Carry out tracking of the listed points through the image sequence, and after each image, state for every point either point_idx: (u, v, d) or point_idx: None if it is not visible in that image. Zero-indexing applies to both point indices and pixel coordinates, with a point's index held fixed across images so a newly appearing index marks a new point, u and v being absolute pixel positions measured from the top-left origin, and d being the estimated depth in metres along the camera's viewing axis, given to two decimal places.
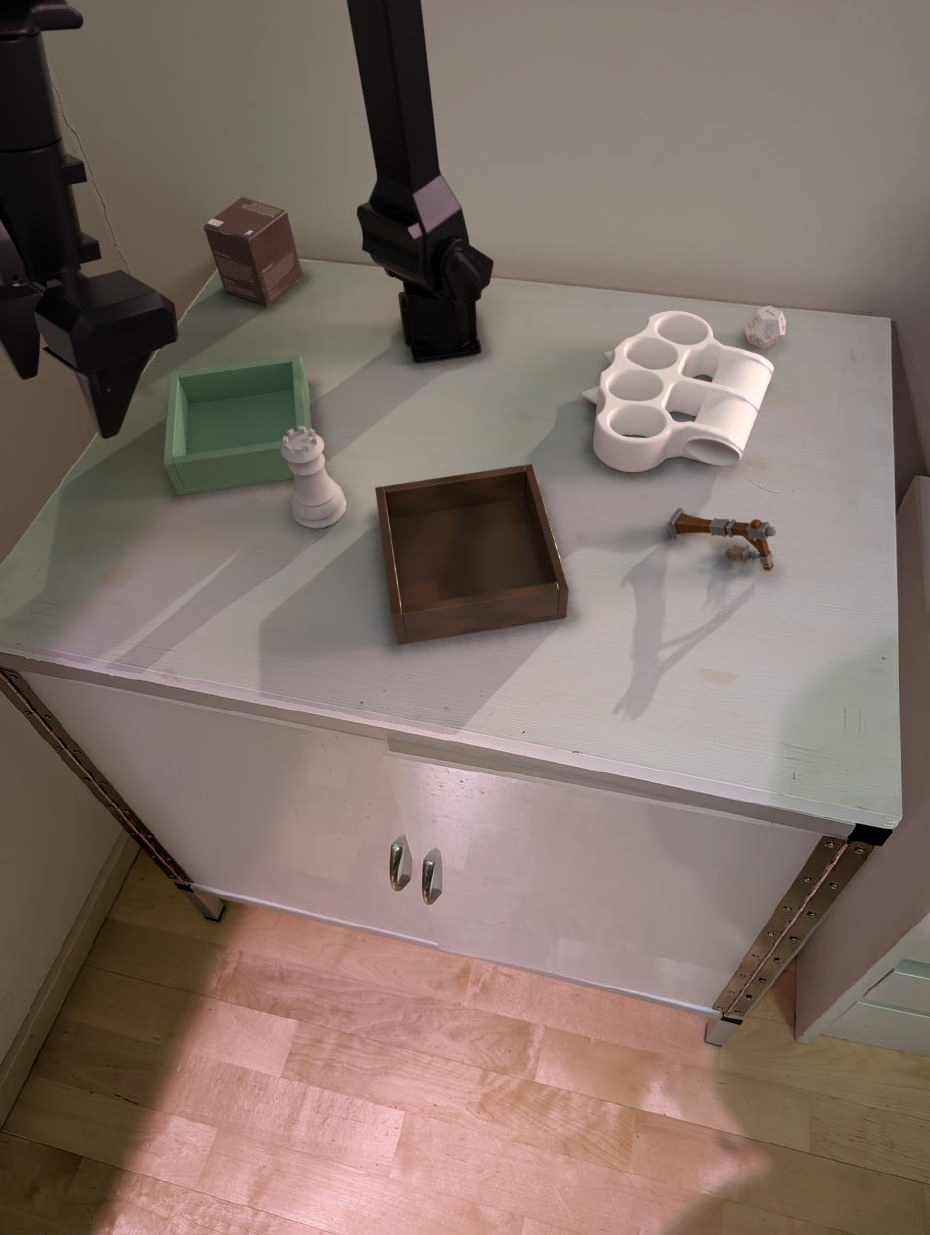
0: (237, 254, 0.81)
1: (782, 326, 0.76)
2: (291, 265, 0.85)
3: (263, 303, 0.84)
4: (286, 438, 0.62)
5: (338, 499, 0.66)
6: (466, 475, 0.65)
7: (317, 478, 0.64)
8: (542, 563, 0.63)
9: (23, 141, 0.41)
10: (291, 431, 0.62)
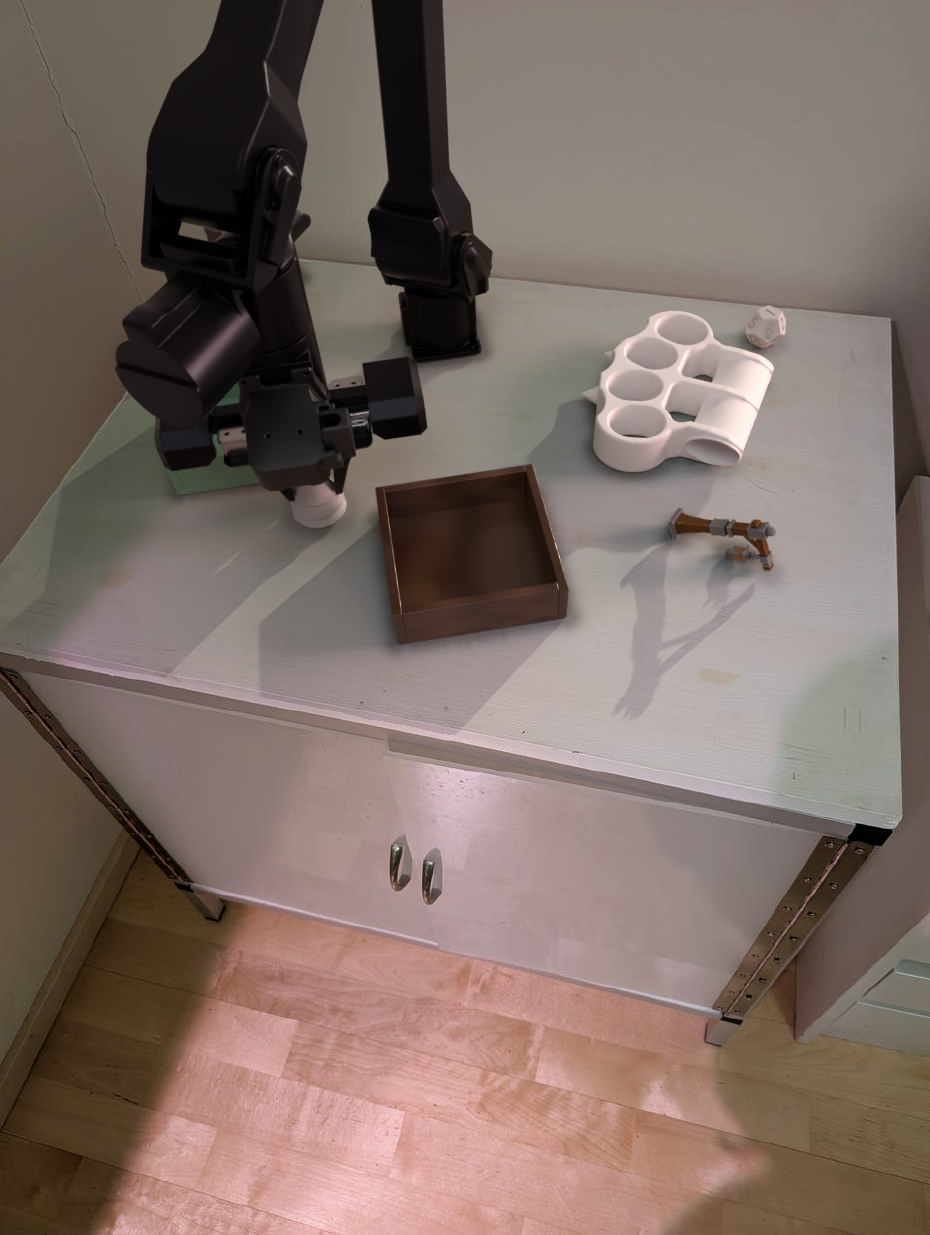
0: None
1: (782, 326, 0.76)
2: None
3: None
4: None
5: (338, 499, 0.66)
6: (466, 475, 0.65)
7: None
8: (542, 563, 0.63)
9: (301, 332, 0.52)
10: None
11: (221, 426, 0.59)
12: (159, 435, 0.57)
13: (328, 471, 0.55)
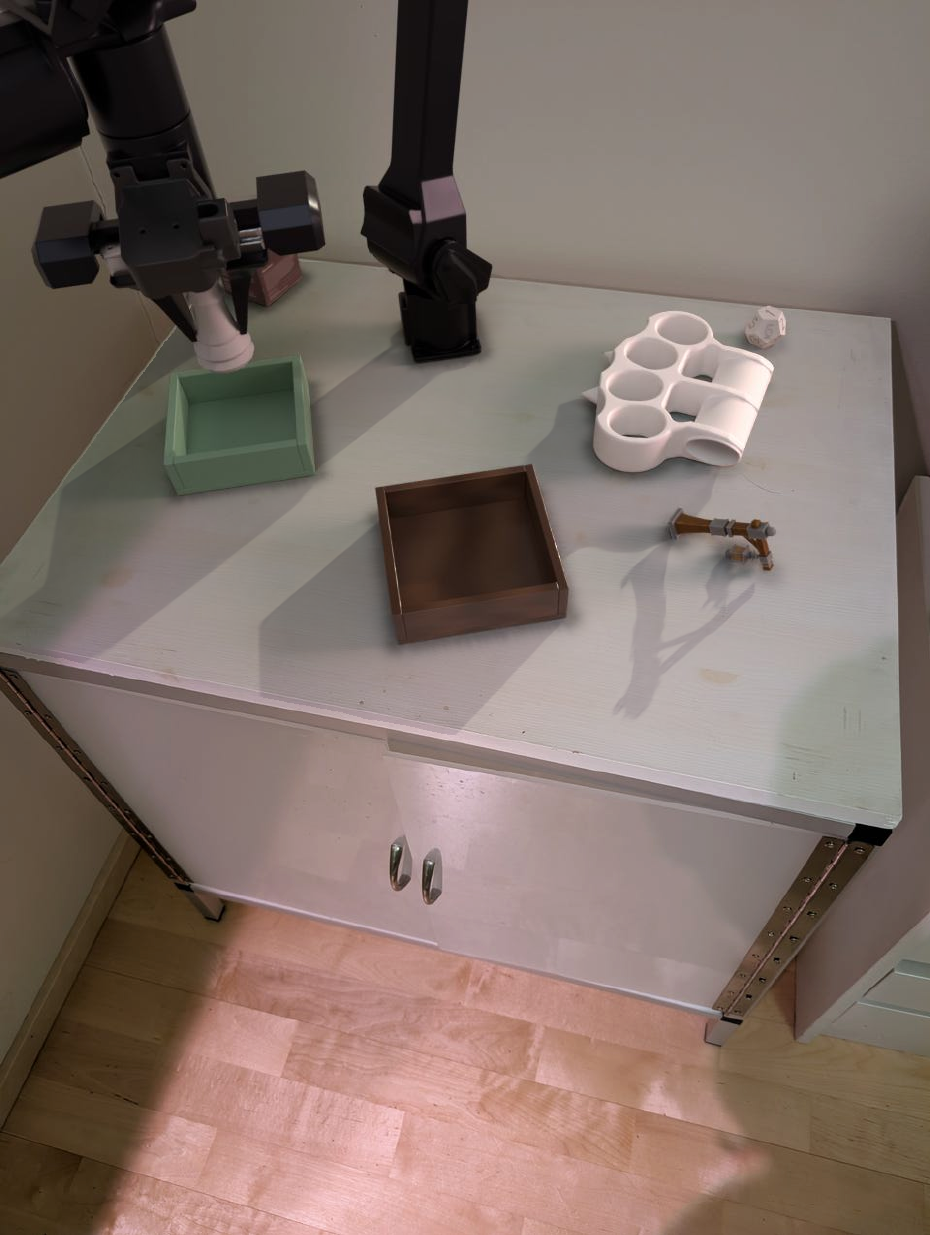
0: None
1: (782, 326, 0.76)
2: (291, 265, 0.85)
3: (263, 303, 0.84)
4: None
5: (243, 340, 0.63)
6: (466, 475, 0.65)
7: (216, 312, 0.60)
8: (542, 563, 0.63)
9: (159, 125, 0.49)
10: None
11: None
12: (35, 245, 0.53)
13: (212, 276, 0.52)
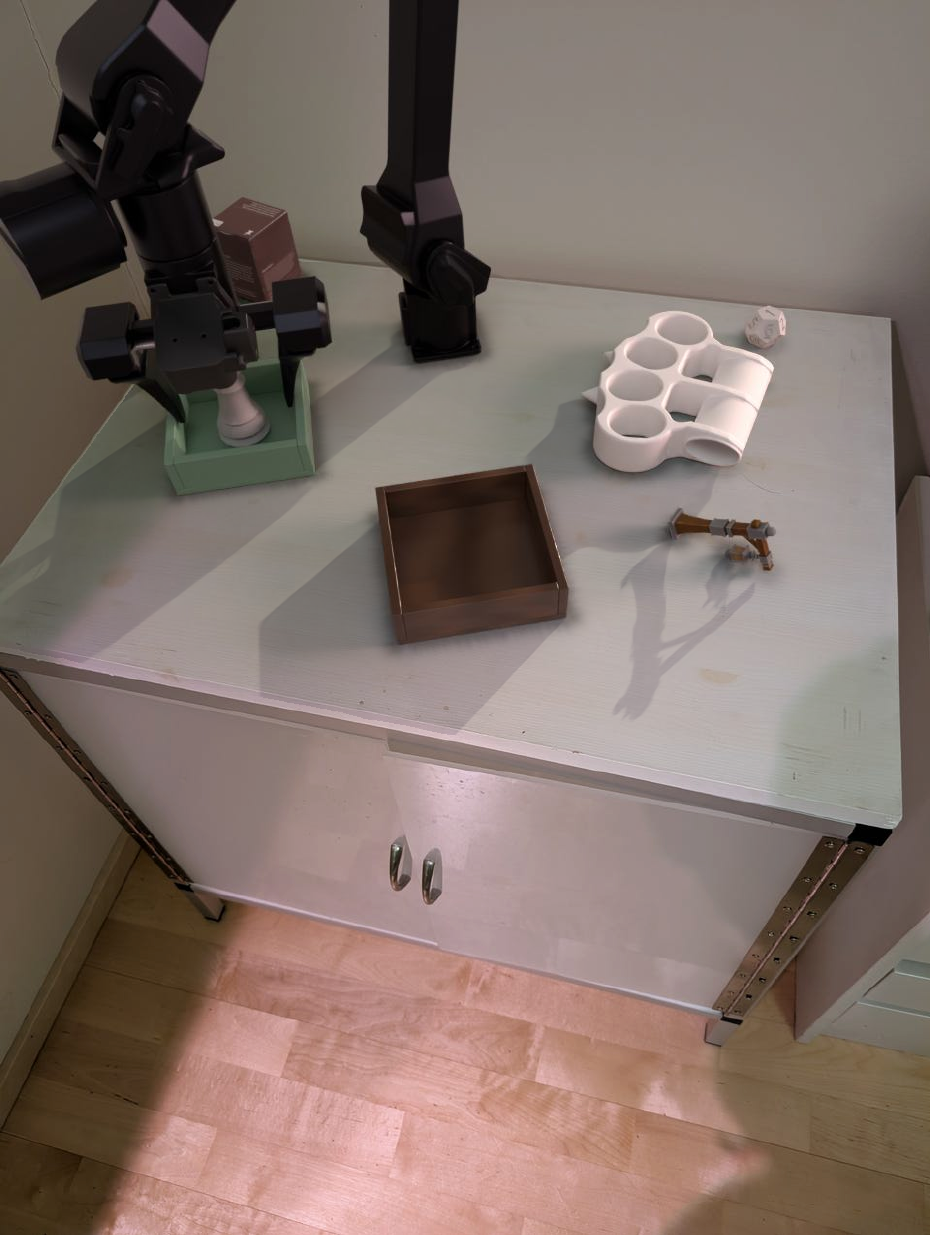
0: (237, 254, 0.81)
1: (782, 326, 0.76)
2: (291, 265, 0.85)
3: None
4: None
5: (260, 420, 0.71)
6: (466, 475, 0.65)
7: (237, 398, 0.69)
8: (542, 563, 0.63)
9: (187, 252, 0.57)
10: None
11: None
12: (79, 345, 0.61)
13: (233, 375, 0.60)
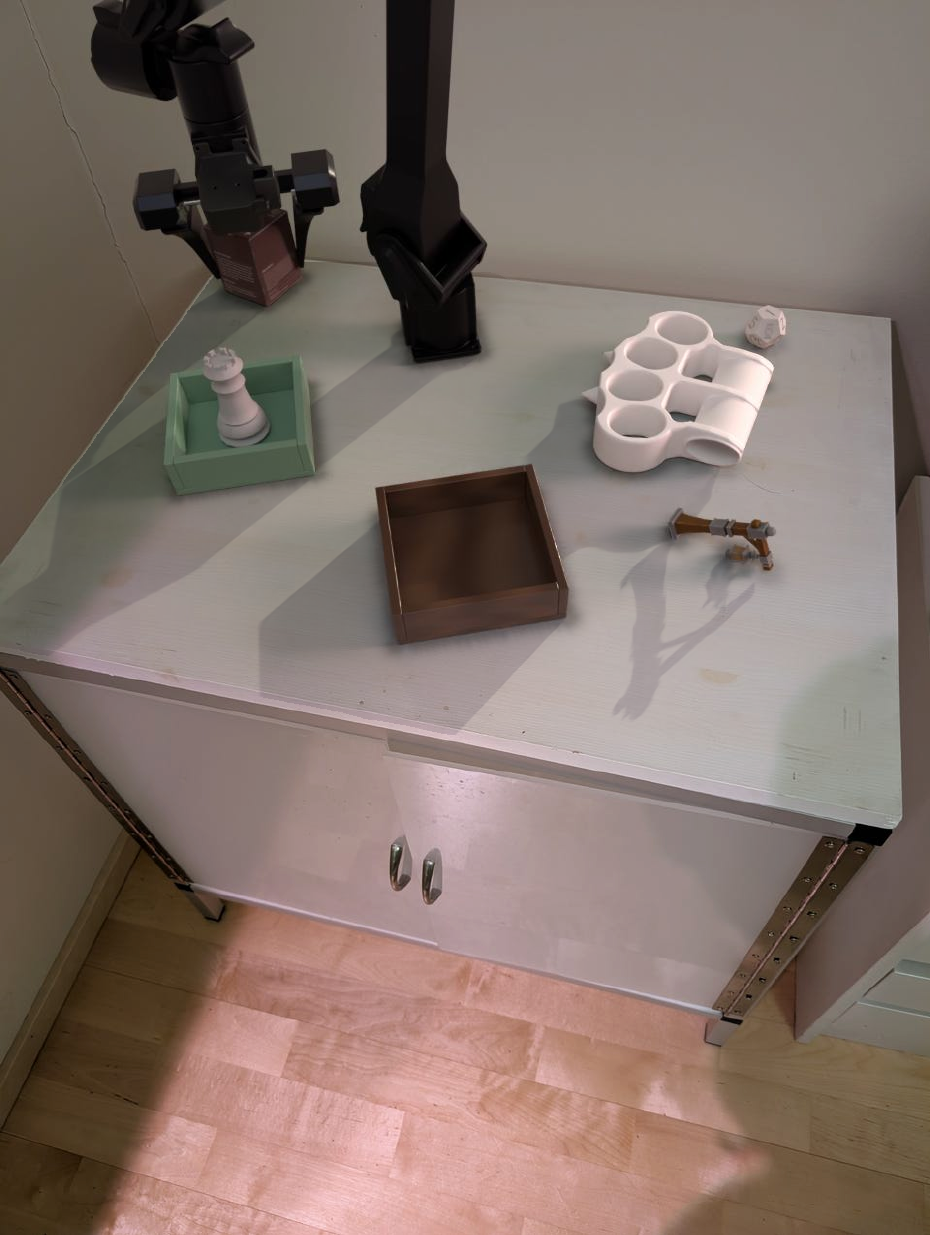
0: (238, 254, 0.81)
1: (782, 326, 0.76)
2: (291, 265, 0.85)
3: (263, 303, 0.84)
4: (207, 358, 0.67)
5: (260, 420, 0.71)
6: (466, 475, 0.65)
7: (238, 398, 0.69)
8: (542, 563, 0.63)
9: (190, 116, 0.71)
10: (212, 352, 0.67)
11: None
12: (136, 198, 0.76)
13: (261, 220, 0.74)
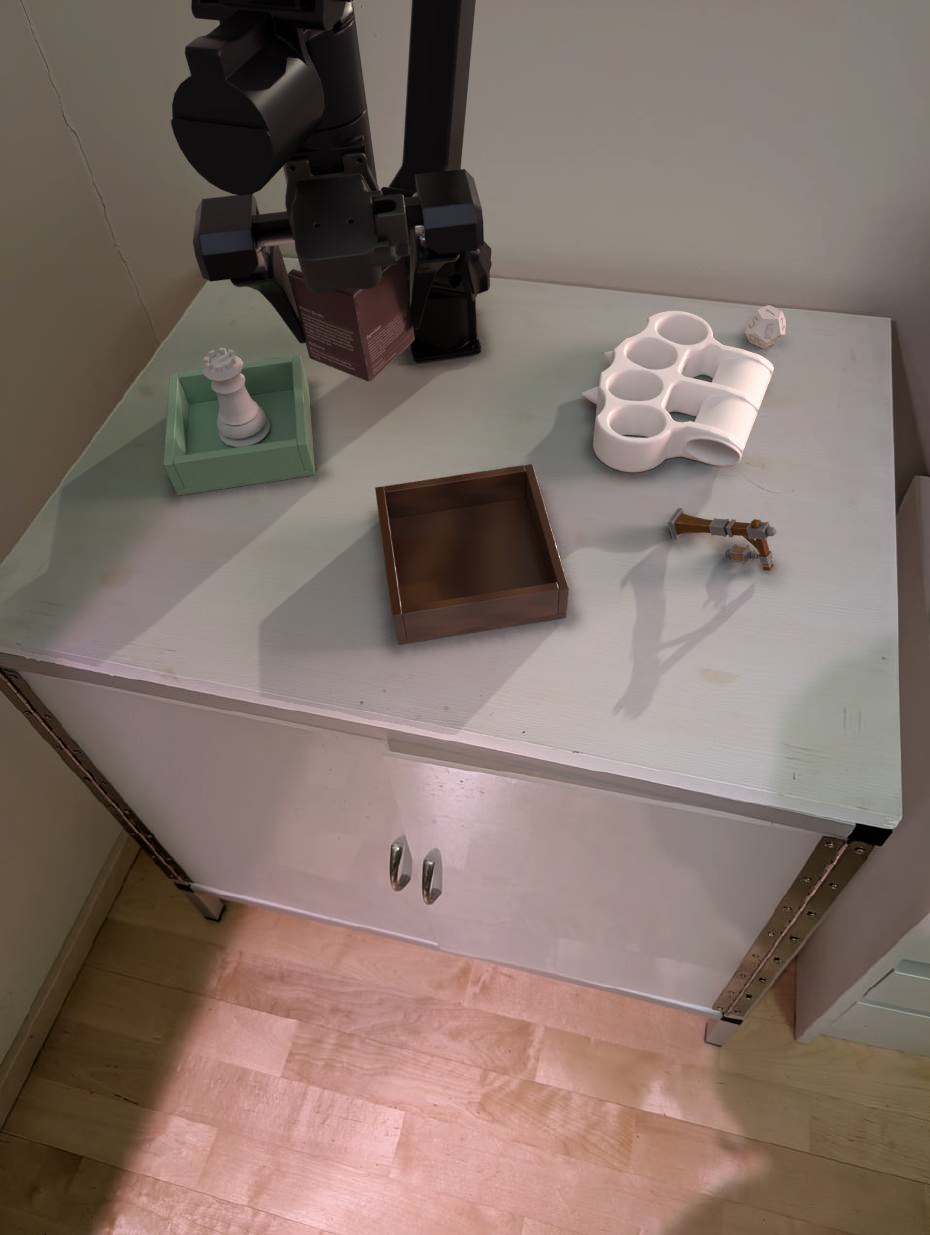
0: (334, 313, 0.58)
1: (782, 326, 0.76)
2: (403, 326, 0.62)
3: (363, 378, 0.61)
4: (207, 358, 0.67)
5: (260, 420, 0.71)
6: (466, 475, 0.65)
7: (238, 398, 0.69)
8: (542, 563, 0.63)
9: (359, 108, 0.49)
10: (212, 352, 0.67)
11: None
12: (198, 237, 0.53)
13: (379, 272, 0.51)
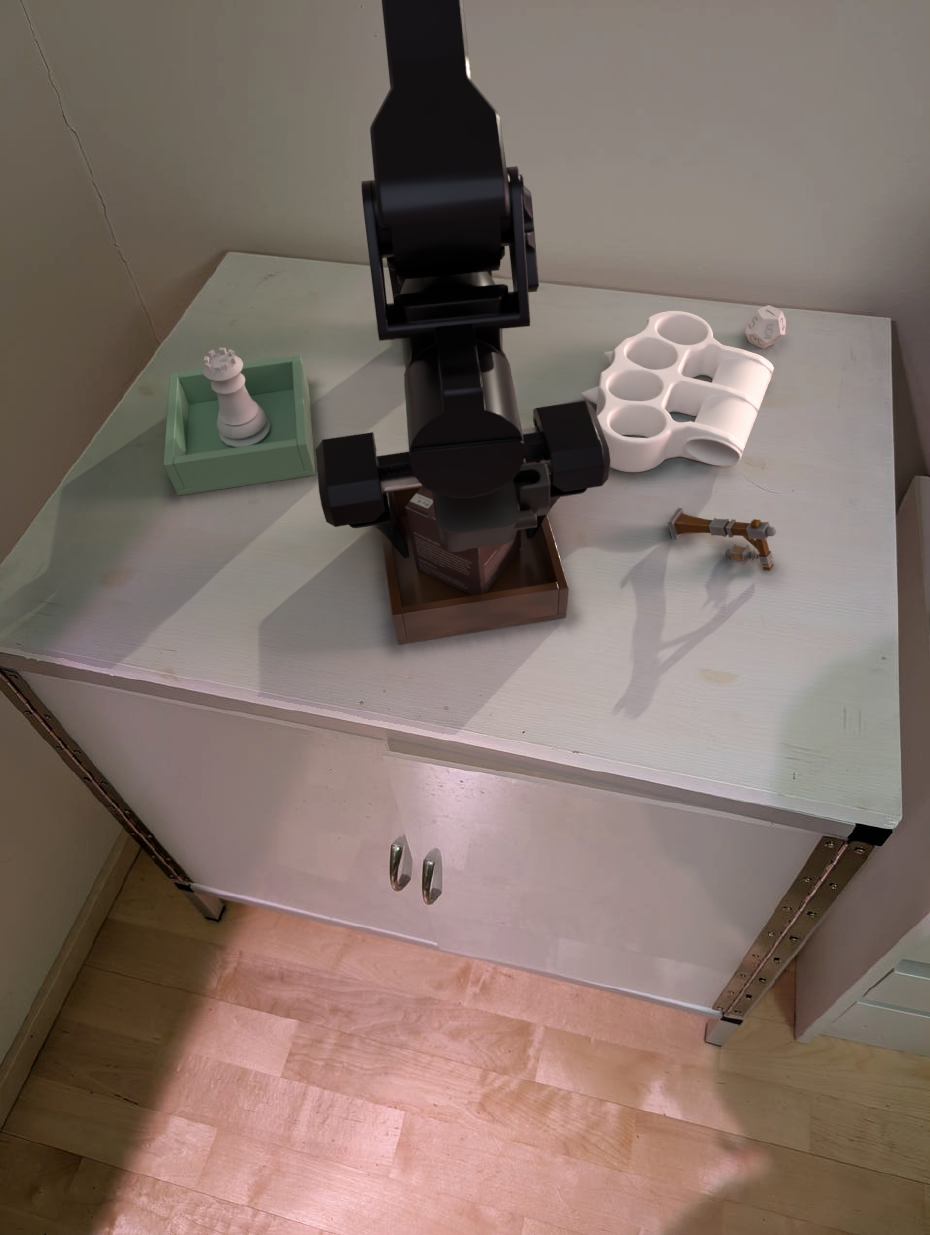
0: None
1: (782, 326, 0.76)
2: (513, 541, 0.62)
3: None
4: (207, 358, 0.67)
5: (260, 420, 0.71)
6: None
7: (238, 398, 0.69)
8: (542, 563, 0.63)
9: None
10: (212, 352, 0.67)
11: None
12: (326, 489, 0.52)
13: (516, 530, 0.50)
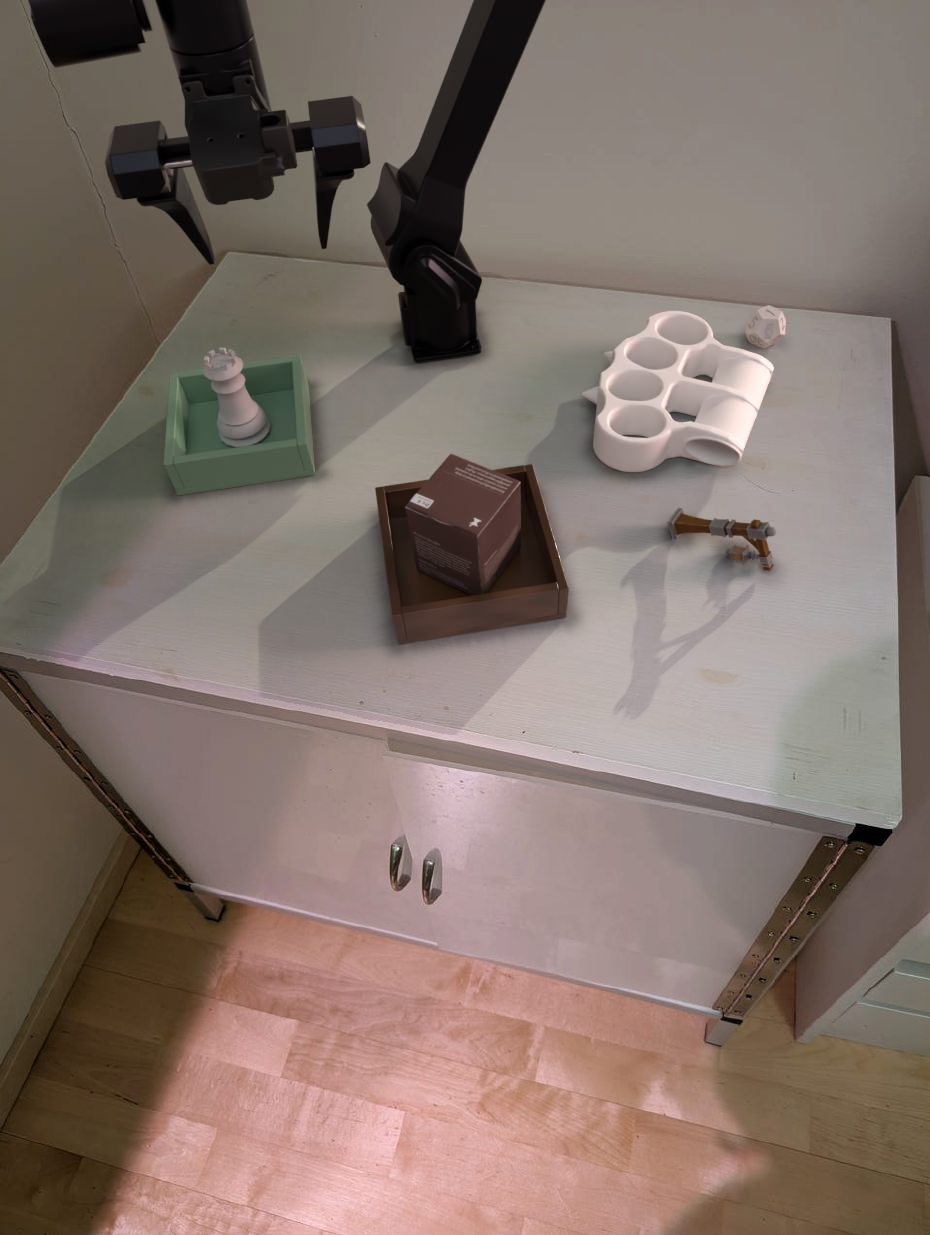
0: (453, 545, 0.58)
1: (782, 326, 0.76)
2: (513, 541, 0.62)
3: None
4: (207, 358, 0.67)
5: (260, 420, 0.71)
6: None
7: (238, 398, 0.69)
8: (542, 563, 0.63)
9: (209, 47, 0.54)
10: (212, 352, 0.67)
11: None
12: (109, 157, 0.59)
13: (270, 184, 0.57)
